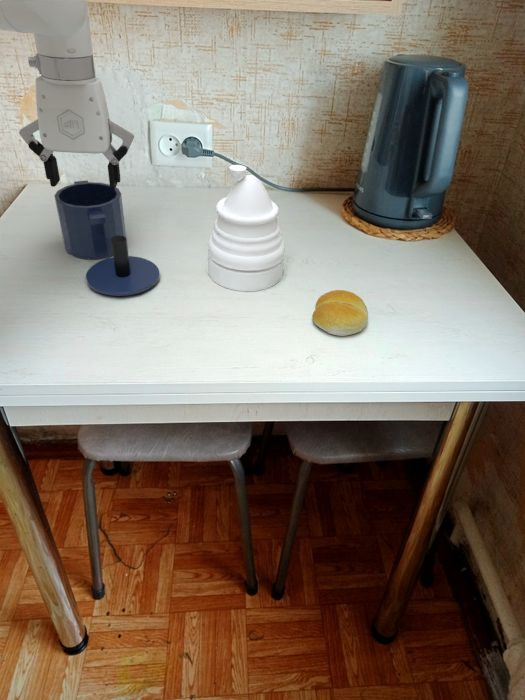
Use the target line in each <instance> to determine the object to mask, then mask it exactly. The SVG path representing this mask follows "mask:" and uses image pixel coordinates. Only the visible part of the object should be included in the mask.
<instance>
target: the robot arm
mask: <svg viewBox="0 0 525 700" xmlns="http://www.w3.org/2000/svg"><path fill="white" fill-rule="evenodd" d="M0 30H2V31H8V32H14V33H15V32H16V33H21V34H22V33H23V34H32V35H33V38H34V44H35V49H36V53H35V55H33V56H28V59H27V60H28V61H27V62H28V65H29V67H30V68H34V69H36V70H37V71H38V73H39V75H40V76H38V77H36V78H35V102H36V103H35V104H36V115H37V116H36V117H37V119H35V120H34V121H32V122H30V123H28V124H26V125H25V126H23V127H22V128H21V129H20V130H19V131H18V133H19V135H20V137H21V138H22V139H23V141H24V142H25V143H26V144H27V147H28V148H29V150H30V151H32V152H33V153H34V154H35V155H36V156H37V157H39V160H40V161H41V162H43V166H44V167H43V168H44V173H45V178H46V179H47V180H49V183H50V187H56V186H57V185H58V184H59V182H60V181H61V178H60V171H59V167H58V165H59V164H58V161H57V157H56V156H55V155H54V153H55V152H56V153H57V152H58V153H73V154H93V155H94V154H95V155H96V154H102V155H103V156H104V157H105V159H107V160H108V164H107V172H108V182H109V185H110V188H111V189H115V188H117V185H118V183H121V170H120V161H121V160H122V159H123V158H124V157H125V156H126V155H127V154H128V152H129V149H130V147H131V145H132V143H133V141H134V139H135V135H134V133H132V132H130V131H128V130H127V129H125V128H123V127H122V126H121V125H118V124H117V123H115V122H113V121H112V120H111V119H110V118H111V117H110V113H109V108H108V102H107V99H106V98H107V97H106V94H105V90H104V88H103V84H102V80H101V79H100V78H99V77H97V75H96V68H95V60H94V52H93V43H92V36H91V34H92V33H91V27H90V18H89V10H88V1H87V0H0ZM38 131H39V136H40V138H39V139H40V141H41V142H40V141H39V140H37V139H36V138H35V135H34V133H36V132H38ZM113 135H114V136H116V137H118V138H119V139H121V141H122V143H121V145H120V146H119V147H118V148H117V149H116V148H115V147H114V145H113V144H112V143H113Z"/></svg>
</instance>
